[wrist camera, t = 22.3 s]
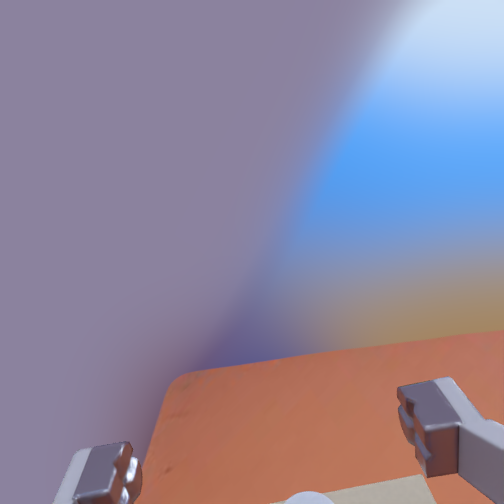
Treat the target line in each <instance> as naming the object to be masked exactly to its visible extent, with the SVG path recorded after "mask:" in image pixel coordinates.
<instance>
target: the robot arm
mask: <svg viewBox="0 0 504 504" xmlns="http://www.w3.org/2000/svg"><path fill="white" fill-rule="evenodd" d="M397 398H398V399H399V401H400V403H401V405H400V406H399V408H398V413H399V420H400V423H401V427H402V430H403V432H404V435H405V437H406V439H407V441H408V442H409V443H410V444H412V445H413V446H415V456H416V458H417V460H418V462H419V464H420V466H421V468H422V470H423V472H424V473H425V475H426V477H427V478H430V477H436V476H443V475H449V474H455V473H458V475H459V476H461V477H462V478H463V479H465V480H466V481H467V482H468V483H470V484H471V485H472V486H474V487H475V488H476V489H477V490H479V491H480V492H481V493H483V494H484V495H485V496H486V497H488V498H489V499H490V500H492V501H493V502H494V503H495V504H504V426H503V425H501V424H499V423H497V422H495V421H493V420H492V419H486V420H485V419H484V418H483V417H482V416H481V414H480V413H479V412H478V411H477V409H476V408H475V407H474V405H473V404H472V403H471V402H470V400H469V399H468V398H467V397H466V395H465V394H464V393H463V392H462V390H461V389H460V388H459V387H458V385H457V384H456V383H455V382H454V380H453V379H452V378H450V377H444V378H439V379H434V380H431V381H430V380H429V381H424V382H419V383H415V384H410V385H405V386H400V387H398V388H397ZM132 452H133V448H132V446H131V444H130V442H126V441H125V442H119V443H113V444H107V445H102V446H96V447H92V448H86V449H80V450H78V451H77V452H76V453H75V454H74V456H73V458H72V460H71V462H70V465H69V467H68V469H67V471H66V474H65V476H64V479H63V481H62V483H61V485H60V488H59V490H58V492H57V495H56V497H55V499H54V501H53V504H134V501H135V500H136V499H137V498H138V496H139V495H140V493H141V488H142V469H141V465H140V463H139V461H138V459H136V458H134V457H133V456H132Z"/></svg>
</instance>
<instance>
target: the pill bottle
mask: <svg viewBox="0 0 504 504" xmlns="http://www.w3.org/2000/svg"><path fill="white" fill-rule="evenodd" d="M284 504H334V503H333V502H332V501H331V500H330V499H329V498H328V497H326V496H325V495H323V494H320V493H318V492H312V491H305V492H300V493H297V494H295V495H293V496H292V497H290V498H289V499H288V500H287V501H286V502H285V503H284Z"/></svg>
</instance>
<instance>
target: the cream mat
mask: <svg viewBox="0 0 504 504" xmlns="http://www.w3.org/2000/svg"><path fill="white" fill-rule="evenodd" d="M322 494H323V495H325V496H326V497H328V498H329V499H330V500H331V501H332V502H333V503H334V504H436V502H435V500H434V498H433V496H432V494H431V492H430V490H429V488H428V486H427V484H426V482H425V480H424V478H423V476H422V474H419V475H414V476H409V477H404V478H399V479H394V480H389V481H384V482H378V483H373V484H368V485H363V486H358V487H353V488H348V489H343V490H338V491H332V492H327V493H322ZM285 502H286V501H281V502H276V503H271V504H284V503H285Z"/></svg>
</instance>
